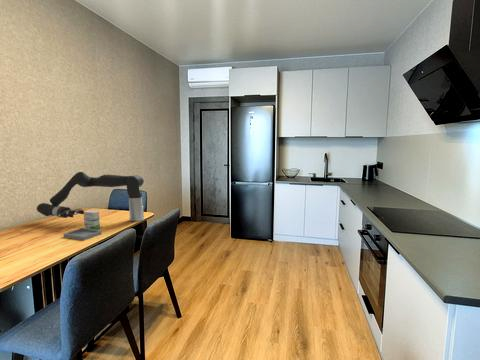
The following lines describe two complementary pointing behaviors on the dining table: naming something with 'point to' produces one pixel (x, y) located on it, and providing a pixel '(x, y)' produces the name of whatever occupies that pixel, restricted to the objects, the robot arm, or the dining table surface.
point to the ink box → (91, 220)
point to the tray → (82, 233)
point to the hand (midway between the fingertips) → (78, 214)
